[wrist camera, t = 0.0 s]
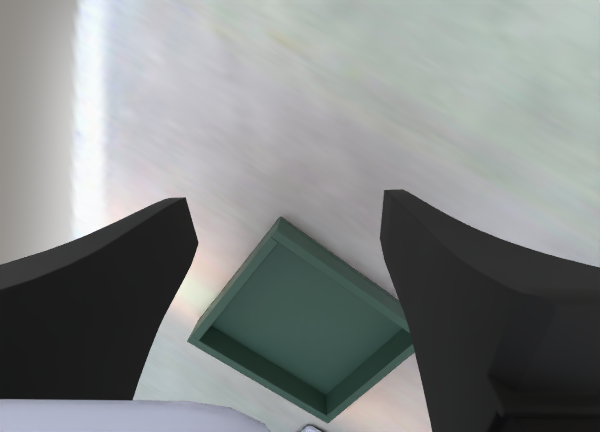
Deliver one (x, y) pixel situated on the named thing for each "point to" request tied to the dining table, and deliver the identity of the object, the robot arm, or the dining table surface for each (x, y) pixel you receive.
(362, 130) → the dining table surface
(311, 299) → the tray
